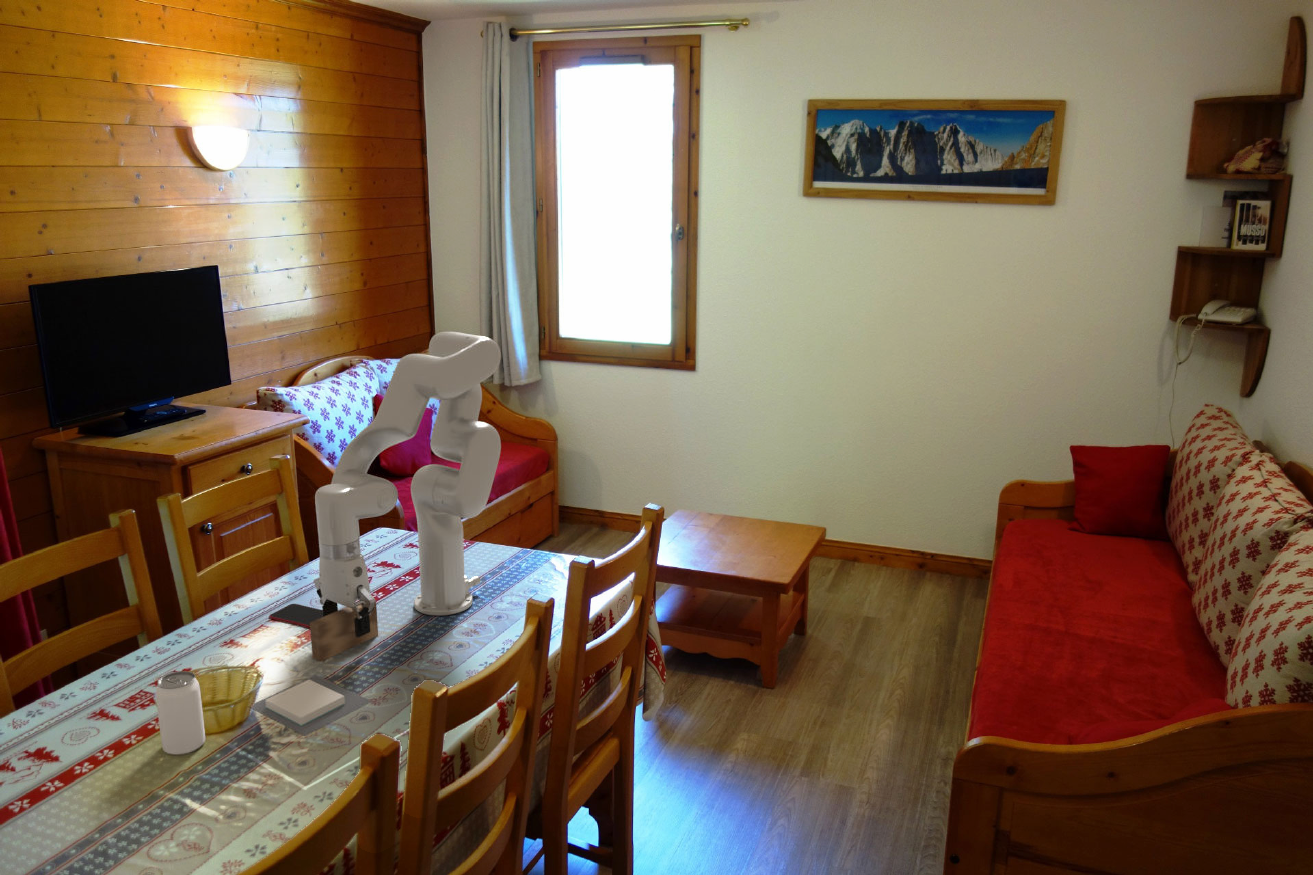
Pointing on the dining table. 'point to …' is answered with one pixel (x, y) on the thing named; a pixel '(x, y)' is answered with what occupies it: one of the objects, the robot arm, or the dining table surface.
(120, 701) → the dining table surface
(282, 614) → the smartphone
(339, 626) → the wooden plank piece
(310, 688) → the tile
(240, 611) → the dining table surface
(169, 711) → the can
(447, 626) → the dining table surface
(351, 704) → the mat
